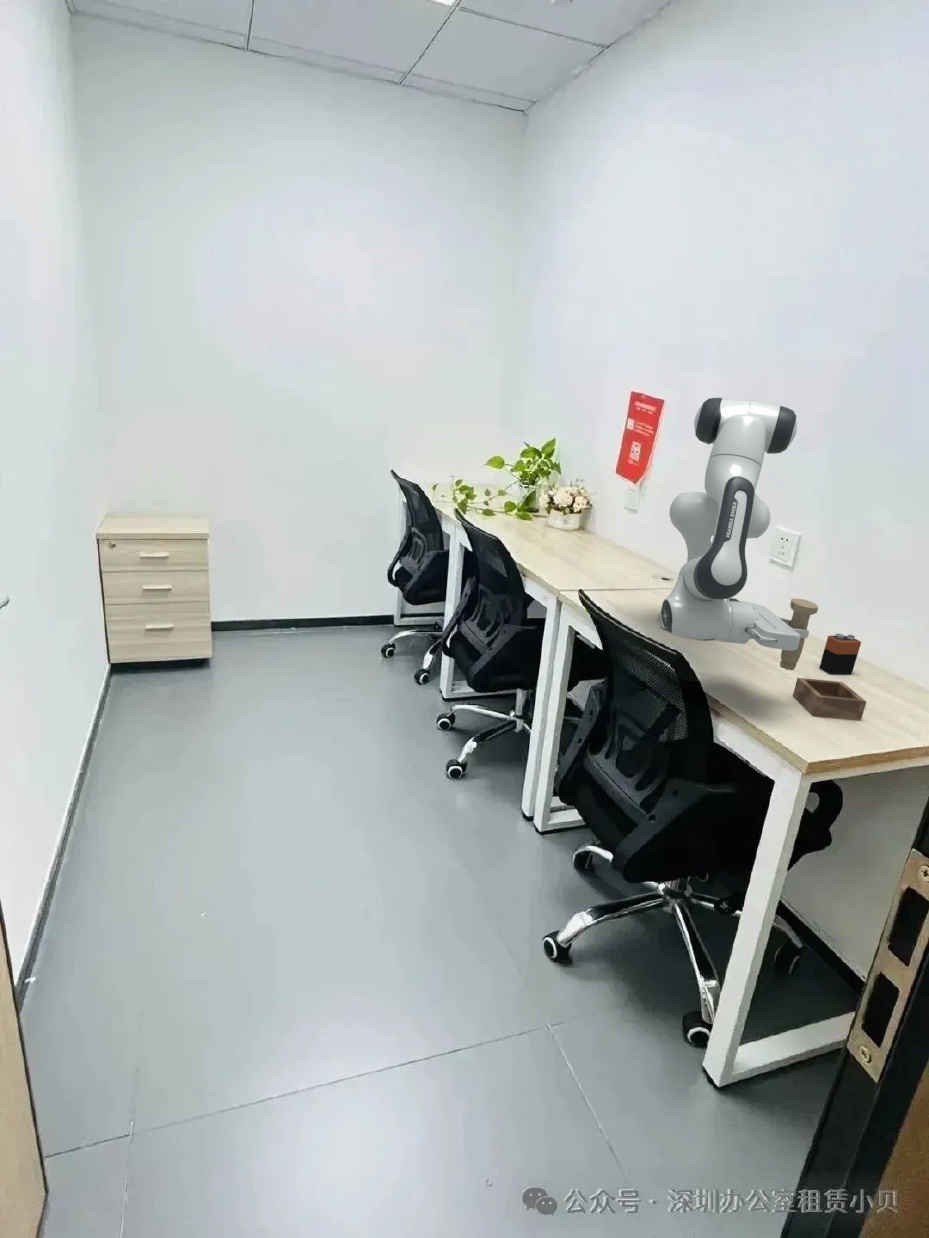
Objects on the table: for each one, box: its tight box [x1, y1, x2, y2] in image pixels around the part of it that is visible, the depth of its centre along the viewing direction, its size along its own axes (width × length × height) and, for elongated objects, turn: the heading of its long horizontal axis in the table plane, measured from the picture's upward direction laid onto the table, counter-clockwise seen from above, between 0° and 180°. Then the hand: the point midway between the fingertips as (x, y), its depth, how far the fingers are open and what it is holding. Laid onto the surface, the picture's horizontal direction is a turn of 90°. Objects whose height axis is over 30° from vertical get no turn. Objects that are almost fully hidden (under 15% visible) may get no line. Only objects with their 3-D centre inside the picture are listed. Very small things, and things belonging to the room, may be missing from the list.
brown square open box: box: [792, 677, 867, 721], centre depth 154 cm, size 10×10×4 cm
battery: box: [819, 633, 862, 675], centre depth 176 cm, size 4×7×10 cm, turn 102°
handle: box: [779, 598, 819, 671], centre depth 149 cm, size 5×6×15 cm
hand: (801, 629), depth 149 cm, fingers closed on handle, 4 cm apart
